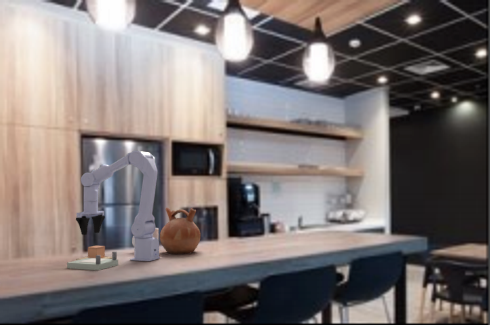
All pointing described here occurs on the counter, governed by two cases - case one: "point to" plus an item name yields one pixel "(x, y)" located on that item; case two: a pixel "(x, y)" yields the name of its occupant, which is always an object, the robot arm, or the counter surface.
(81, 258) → the pallet
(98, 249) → the orange block
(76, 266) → the dock
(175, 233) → the jug
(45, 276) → the counter surface
